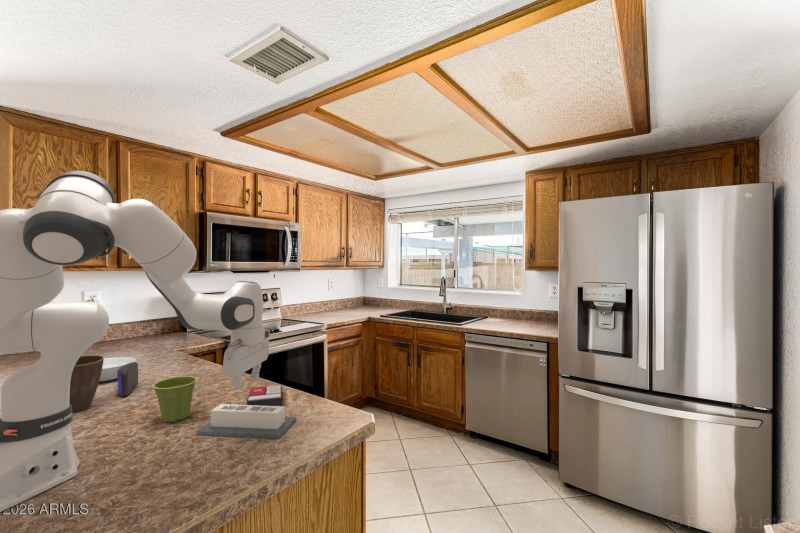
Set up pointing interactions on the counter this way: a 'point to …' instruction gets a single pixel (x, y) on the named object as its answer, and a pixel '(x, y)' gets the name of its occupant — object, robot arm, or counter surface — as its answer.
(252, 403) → the calculator
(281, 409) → the power strip
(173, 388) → the plant pot
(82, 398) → the plant pot
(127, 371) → the dark grey slab
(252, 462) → the counter surface
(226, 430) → the mounting plate
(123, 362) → the serving bowl
